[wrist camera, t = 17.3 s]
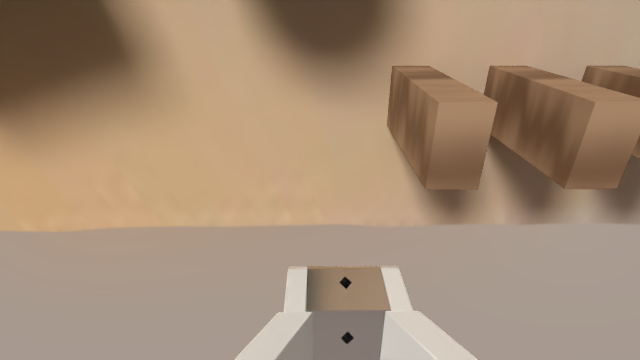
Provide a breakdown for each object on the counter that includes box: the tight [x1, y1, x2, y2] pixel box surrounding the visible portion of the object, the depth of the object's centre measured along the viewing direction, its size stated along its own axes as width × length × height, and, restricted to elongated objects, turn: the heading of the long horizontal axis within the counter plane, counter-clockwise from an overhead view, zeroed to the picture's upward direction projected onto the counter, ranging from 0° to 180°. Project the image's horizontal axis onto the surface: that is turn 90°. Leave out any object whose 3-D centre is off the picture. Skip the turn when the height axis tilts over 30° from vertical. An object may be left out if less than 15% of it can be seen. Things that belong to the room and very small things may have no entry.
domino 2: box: [484, 66, 640, 189], centre depth 24 cm, size 5×3×12 cm, turn 0°
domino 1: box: [387, 66, 498, 190], centre depth 24 cm, size 5×3×12 cm, turn 0°
